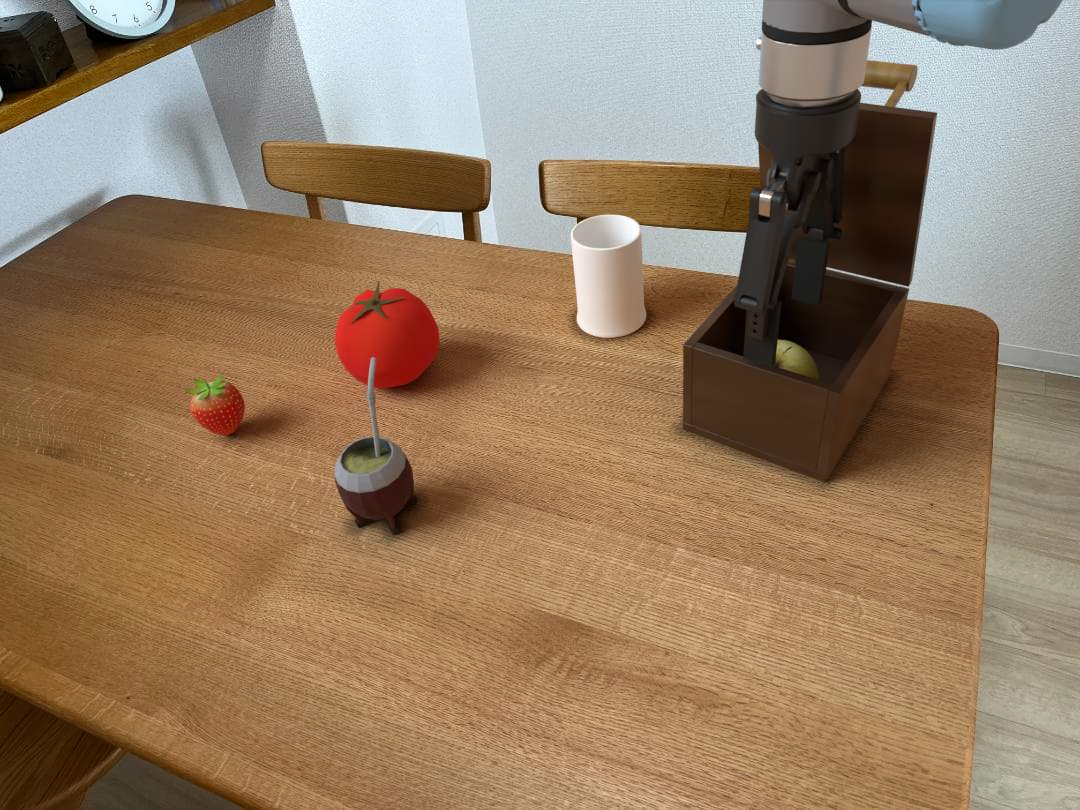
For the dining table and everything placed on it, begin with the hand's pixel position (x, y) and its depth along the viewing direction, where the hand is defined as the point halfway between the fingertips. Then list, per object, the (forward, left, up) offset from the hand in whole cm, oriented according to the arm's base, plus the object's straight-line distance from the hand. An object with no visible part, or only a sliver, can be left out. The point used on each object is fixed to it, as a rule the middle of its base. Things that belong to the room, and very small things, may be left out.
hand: (783, 329), depth 75 cm
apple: (0, 0, -10) cm, 10 cm away
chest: (0, -4, -12) cm, 12 cm away
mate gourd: (+27, +29, -12) cm, 42 cm away
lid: (0, -10, +9) cm, 13 cm away
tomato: (+41, +13, -12) cm, 45 cm away
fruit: (+51, +30, -12) cm, 61 cm away
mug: (+25, -10, -12) cm, 29 cm away
